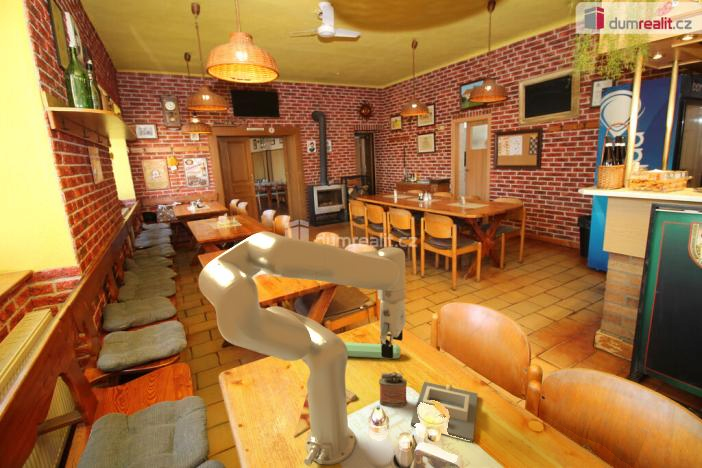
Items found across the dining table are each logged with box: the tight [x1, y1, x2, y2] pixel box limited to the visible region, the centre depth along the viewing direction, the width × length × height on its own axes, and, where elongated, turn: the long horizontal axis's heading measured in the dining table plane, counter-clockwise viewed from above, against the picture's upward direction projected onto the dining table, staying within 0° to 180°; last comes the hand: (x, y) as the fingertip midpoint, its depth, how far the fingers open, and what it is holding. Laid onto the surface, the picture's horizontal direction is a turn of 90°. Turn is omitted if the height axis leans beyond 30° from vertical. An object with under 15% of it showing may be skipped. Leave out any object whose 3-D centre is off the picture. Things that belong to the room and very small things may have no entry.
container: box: [343, 341, 402, 360], centre depth 126 cm, size 6×6×25 cm
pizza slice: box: [293, 388, 358, 438], centre depth 104 cm, size 16×22×2 cm
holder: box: [410, 381, 478, 442], centre depth 98 cm, size 18×16×4 cm
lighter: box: [378, 371, 408, 408], centre depth 101 cm, size 8×3×10 cm, turn 84°
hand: (392, 348), depth 98 cm, fingers open, 9 cm apart
